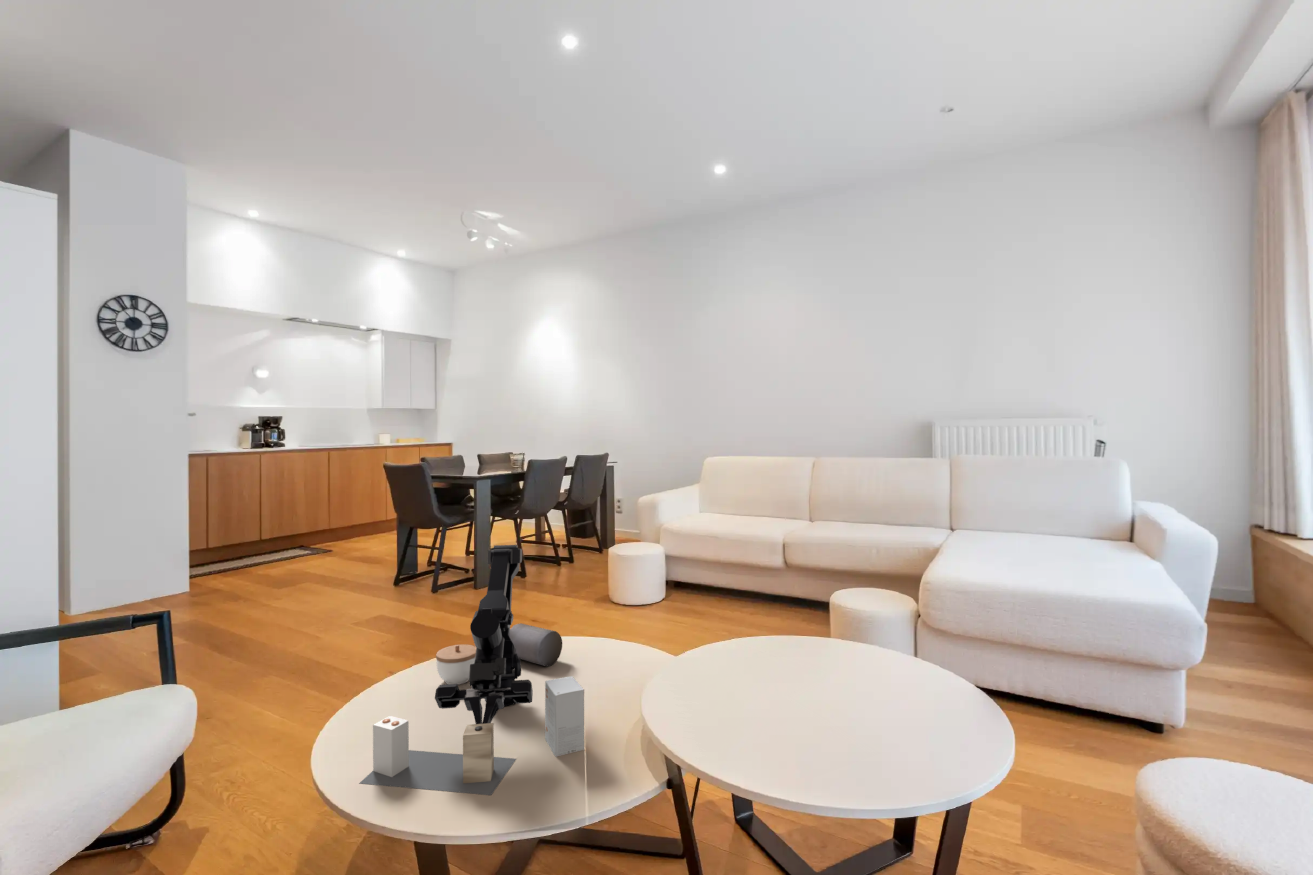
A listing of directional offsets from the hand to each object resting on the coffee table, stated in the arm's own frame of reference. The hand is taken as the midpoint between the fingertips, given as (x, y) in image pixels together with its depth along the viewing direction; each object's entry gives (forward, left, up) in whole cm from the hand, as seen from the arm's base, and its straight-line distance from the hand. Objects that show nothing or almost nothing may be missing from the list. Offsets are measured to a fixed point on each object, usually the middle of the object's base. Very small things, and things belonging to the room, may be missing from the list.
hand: (480, 738), depth 114 cm
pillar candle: (-27, -45, -2) cm, 52 cm away
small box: (-17, -2, -7) cm, 19 cm away
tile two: (+16, -8, -6) cm, 19 cm away
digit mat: (+7, -3, -7) cm, 10 cm away
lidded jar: (-1, -47, -7) cm, 48 cm away
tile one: (+1, +2, -6) cm, 6 cm away
